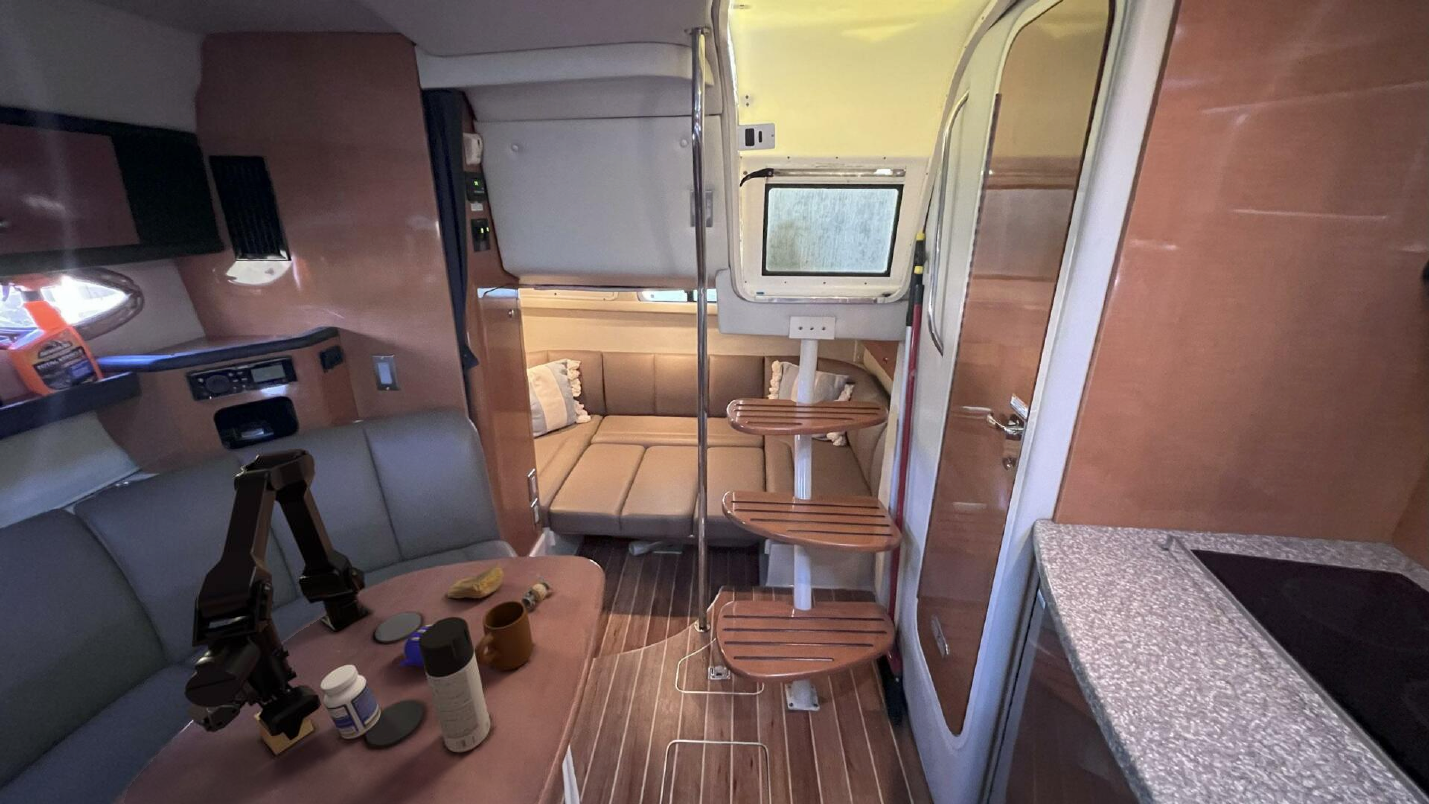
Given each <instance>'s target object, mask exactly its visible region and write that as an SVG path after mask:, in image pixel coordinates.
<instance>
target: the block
mask: <svg viewBox="0 0 1429 804" xmlns="http://www.w3.org/2000/svg"><path fill="white" fill-rule="evenodd" d="M260 713H261V711H259V712H257V713H256V714H254V715H253V718H254V720H255V723H256V726H257V727H258V730H259V732H260V736H261V737H262V740H263V741H264V742H265V743H266V745H267V746H268V747H269V748H270V750H271V751H272V752H273V753H274V754H275V756H277V755H279V754H280V753H282V752H283V751H285V750H286V749H288V748H289V747H291V746H292V745H294V744H295V743H296V742H298V741H300V740H301V739H302V738H304V737H305V736H306V735H308V734H309V733H311V732H312V731H314V728H313V726H312V722H311V719H310V717H309V715H308V716H307V717H305V718H304V719H303V722H302V725H301V728H300V732H299V735H298V736H297V737H296V738H294V739H293V740H291V741H290V740H289V739H288V738H287V736H286V735H285V734H284V733H281V734H280V735H278V736H273V737H272V736H271V735H270V734H269V733H268V731H267V730H266V729H265V728H264V727H263V726H262V724H261V723H260V722H259V721H258V720H260V718H259V715H260Z"/></svg>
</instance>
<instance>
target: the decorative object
mask: <svg viewBox="0 0 1429 804" xmlns="http://www.w3.org/2000/svg"><path fill="white" fill-rule="evenodd" d="M432 625H433V624H426V625H425V626H423V627H421V628H420V629H419V628H418V629H417V630H416V631H415V632H413V633H412V634H411V635H409V636H408V638H407V640H406V642H405V644H404V647H403V653H404V654H403V655H404V656H405V658H406V660H405V661H402V662H401V663H399V664H398V666H400V667H406V666H407V667H408V666H419V667H424V663H423V659H422V655H421V651H420V647H419V638H420V636H421V635H422V634H423V633H424V632H425V631H426V630H427V629H428V628H429V627H430V626H432Z"/></svg>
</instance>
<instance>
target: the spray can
mask: <svg viewBox="0 0 1429 804" xmlns="http://www.w3.org/2000/svg"><path fill="white" fill-rule="evenodd" d="M431 625H432V626H430V627H429V628H428V629H427V630H426V631H425V632H424V633H423V634H422V635H421V636H420V638H419V647H420V651H421V655H422V659H423V663H424V666H423V668H424V671H425V675H426V679H427V682H428V686H429V689H430V694H431V697H432V701H433V705H434V709H435V711H436V715H437V719H438V723H439V727H440V730H441V734H442V737H443V738H442V739H443V742H444V745H445V746H446V748H447V749H448V750H449V751H451V752H454V753H464V752H470V751H471V750H472V749H474V748H476V747H477V746H479V745H480V744H481V743H482V742H483V741H485V739H486V738H487V736H488V734H489V731H490V728H491V719H490V715H489V710H488V705H487V701H486V697H485V692H484V689H483V683H482V679H481V675H480V671H479V665H478V664H477V661H476V657H475V652H474V650H475V647H474V644H473V641H472V637H471V633H470V629H469V625H468V622H467V621H466V619H465V618H462V617H458V616H449V617H445V618H442V619H439V620H437V621H436V622H435V623H434V624H431Z"/></svg>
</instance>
